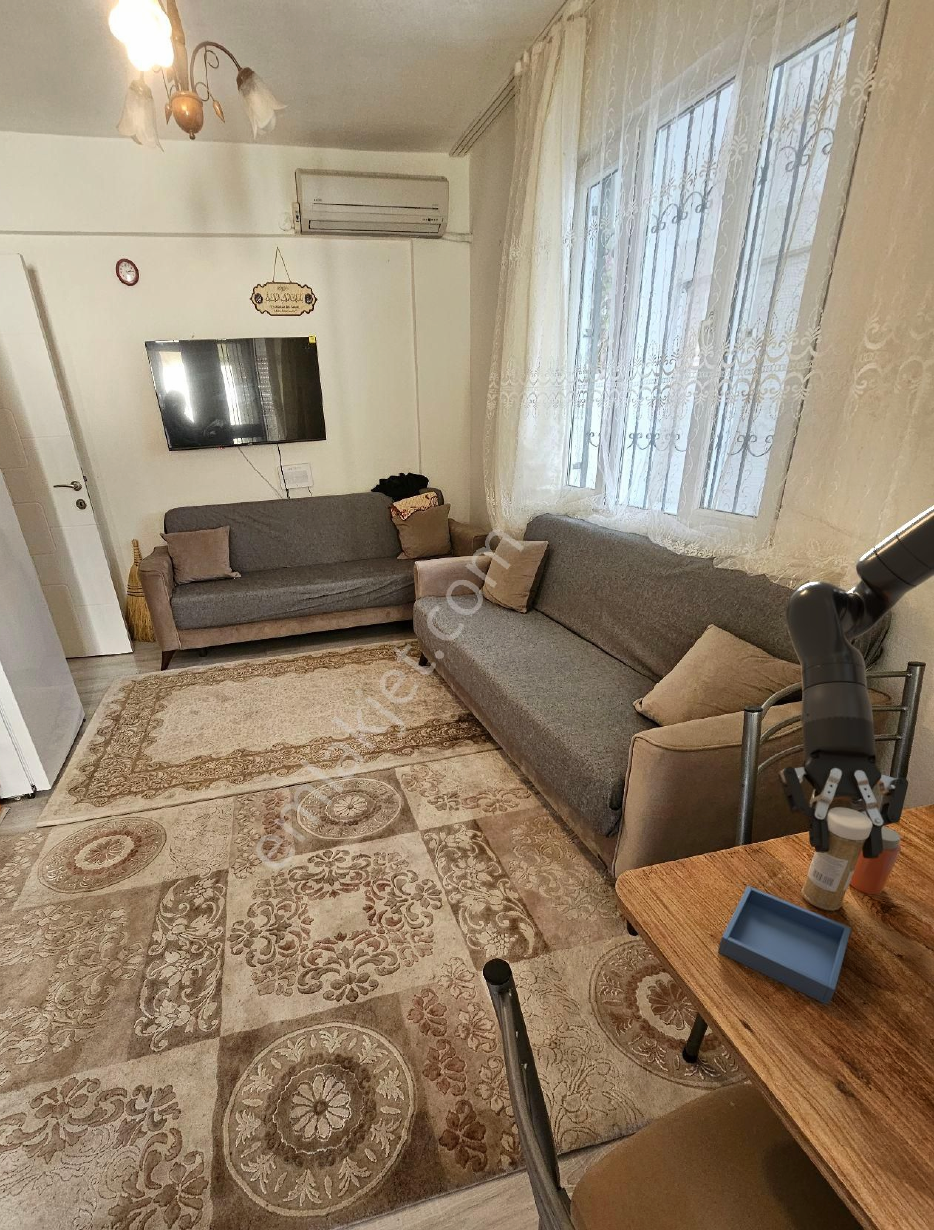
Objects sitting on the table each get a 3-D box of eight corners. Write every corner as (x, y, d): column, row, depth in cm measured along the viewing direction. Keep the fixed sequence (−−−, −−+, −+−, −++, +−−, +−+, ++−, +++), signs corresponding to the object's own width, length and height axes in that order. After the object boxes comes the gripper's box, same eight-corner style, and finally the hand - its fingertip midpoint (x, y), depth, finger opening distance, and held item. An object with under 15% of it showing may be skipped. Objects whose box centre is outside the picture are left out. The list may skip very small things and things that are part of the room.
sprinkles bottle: (850, 908, 75) (883, 824, 69) (820, 915, 74) (852, 830, 68) (819, 884, 79) (849, 802, 73) (791, 890, 78) (818, 809, 72)
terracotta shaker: (884, 882, 79) (906, 831, 75) (881, 899, 76) (903, 847, 72) (849, 869, 81) (868, 820, 77) (844, 885, 79) (864, 834, 75)
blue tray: (845, 942, 70) (851, 927, 69) (828, 1006, 63) (835, 990, 62) (743, 899, 77) (747, 885, 76) (717, 952, 70) (721, 936, 69)
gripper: (786, 709, 74) (793, 843, 69) (918, 719, 71) (935, 860, 66) (765, 727, 81) (769, 850, 76) (884, 736, 78) (897, 866, 73)
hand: (846, 854), depth 71 cm, fingers closed on sprinkles bottle, 4 cm apart
